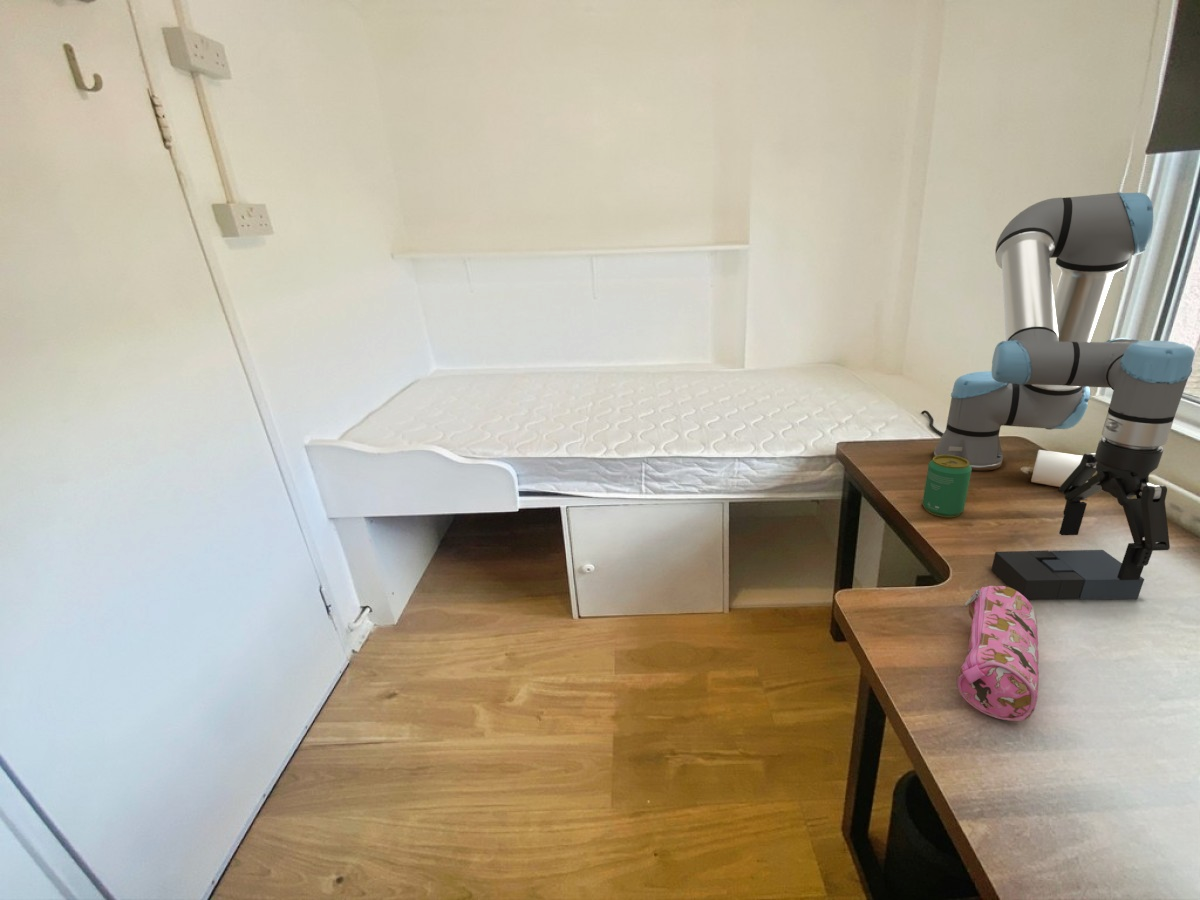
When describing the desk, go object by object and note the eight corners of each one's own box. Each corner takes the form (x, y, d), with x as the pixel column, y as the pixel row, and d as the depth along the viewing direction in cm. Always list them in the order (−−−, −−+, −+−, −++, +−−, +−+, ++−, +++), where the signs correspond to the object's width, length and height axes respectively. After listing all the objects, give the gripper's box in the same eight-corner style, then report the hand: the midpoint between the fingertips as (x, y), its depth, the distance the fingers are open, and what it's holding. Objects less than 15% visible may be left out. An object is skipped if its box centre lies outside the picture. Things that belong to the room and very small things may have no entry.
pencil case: (960, 619, 91) (969, 574, 88) (1030, 638, 86) (1043, 590, 83) (949, 710, 75) (960, 658, 71) (1035, 739, 70) (1051, 686, 66)
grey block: (1026, 569, 102) (1031, 550, 100) (1097, 568, 101) (1102, 549, 99) (1060, 599, 93) (1066, 580, 92) (1137, 599, 92) (1144, 579, 91)
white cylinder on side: (1084, 496, 125) (1093, 464, 122) (1029, 486, 131) (1036, 455, 128) (1085, 477, 133) (1094, 447, 130) (1034, 469, 139) (1040, 439, 136)
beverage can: (971, 513, 121) (981, 463, 117) (944, 521, 119) (953, 471, 115) (940, 498, 129) (948, 451, 124) (913, 506, 126) (921, 458, 122)
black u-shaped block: (991, 569, 102) (995, 551, 101) (1042, 569, 102) (1047, 550, 100) (1021, 600, 94) (1026, 580, 93) (1078, 599, 93) (1084, 579, 92)
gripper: (1052, 416, 99) (1026, 519, 107) (1175, 476, 76) (1131, 601, 84) (1097, 414, 98) (1068, 518, 106) (1235, 474, 75) (1185, 600, 83)
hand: (1096, 555), depth 95 cm, fingers open, 13 cm apart
